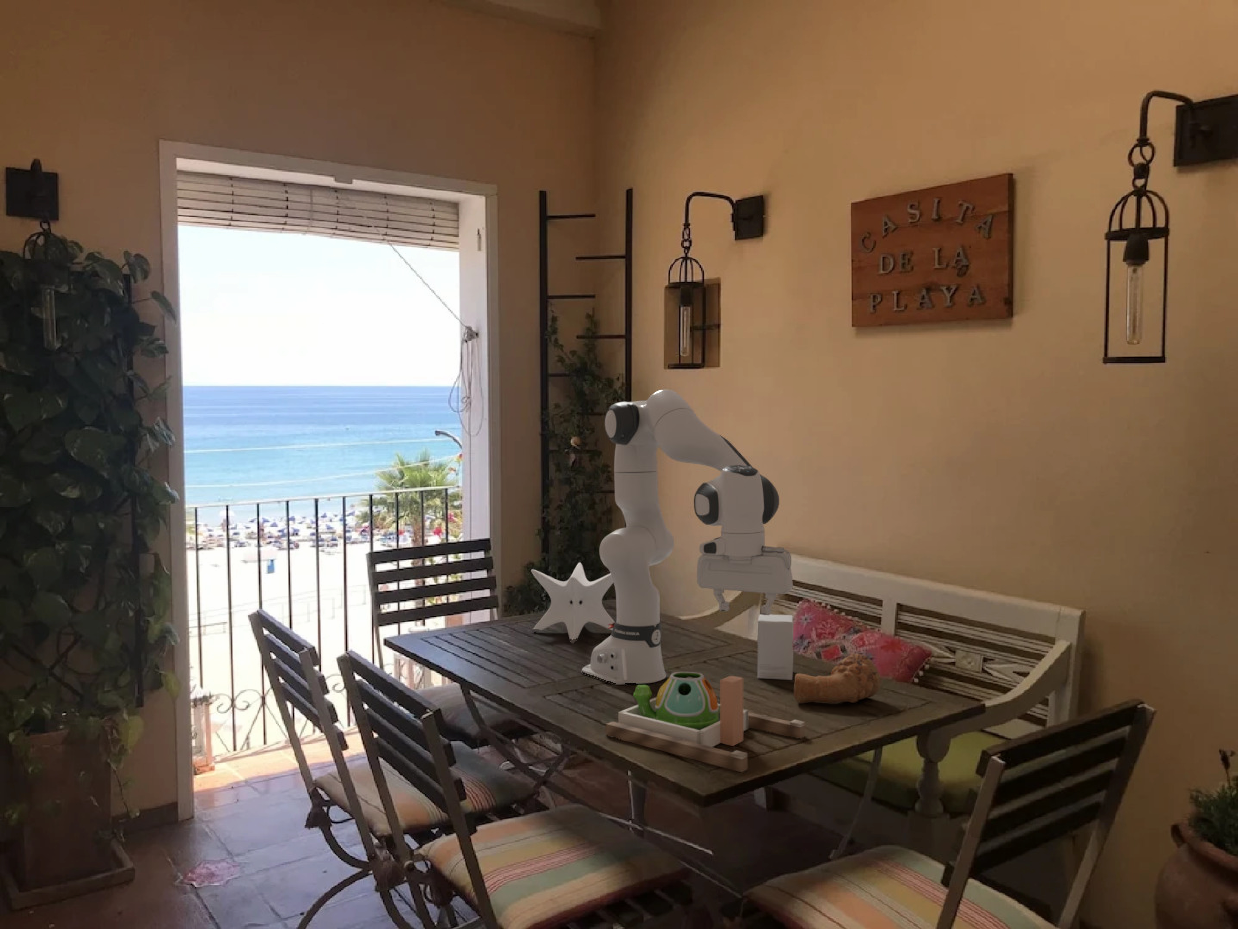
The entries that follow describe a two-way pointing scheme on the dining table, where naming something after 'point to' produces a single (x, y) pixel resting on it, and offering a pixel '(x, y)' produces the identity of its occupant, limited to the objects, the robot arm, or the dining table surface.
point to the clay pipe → (840, 682)
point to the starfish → (575, 601)
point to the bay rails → (703, 752)
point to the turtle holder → (681, 701)
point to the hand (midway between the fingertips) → (744, 612)
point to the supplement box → (775, 647)
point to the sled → (722, 731)
